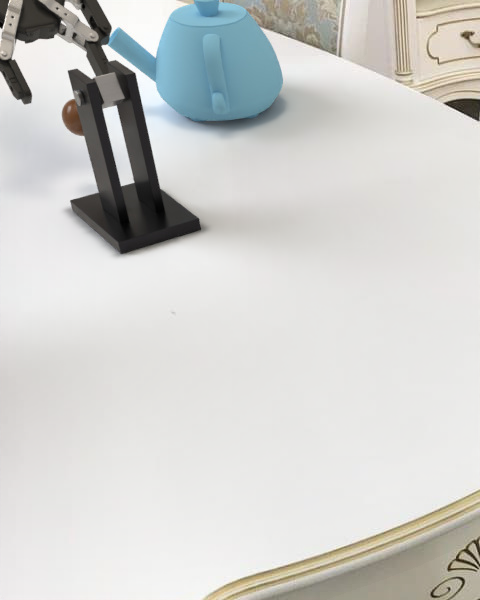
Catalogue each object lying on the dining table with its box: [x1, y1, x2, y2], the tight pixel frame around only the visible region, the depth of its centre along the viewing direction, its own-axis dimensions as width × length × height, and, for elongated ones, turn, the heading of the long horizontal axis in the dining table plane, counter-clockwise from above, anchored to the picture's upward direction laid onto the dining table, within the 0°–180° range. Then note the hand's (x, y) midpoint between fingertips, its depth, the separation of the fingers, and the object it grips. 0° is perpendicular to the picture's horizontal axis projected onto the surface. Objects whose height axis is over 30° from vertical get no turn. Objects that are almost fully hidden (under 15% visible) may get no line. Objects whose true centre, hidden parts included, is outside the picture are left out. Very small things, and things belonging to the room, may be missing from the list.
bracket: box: [67, 59, 202, 254], centre depth 112 cm, size 12×9×15 cm
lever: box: [61, 73, 125, 137], centre depth 113 cm, size 14×4×4 cm, turn 39°
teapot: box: [106, 0, 284, 123], centre depth 134 cm, size 20×20×13 cm
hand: (68, 91), depth 116 cm, fingers open, 8 cm apart
